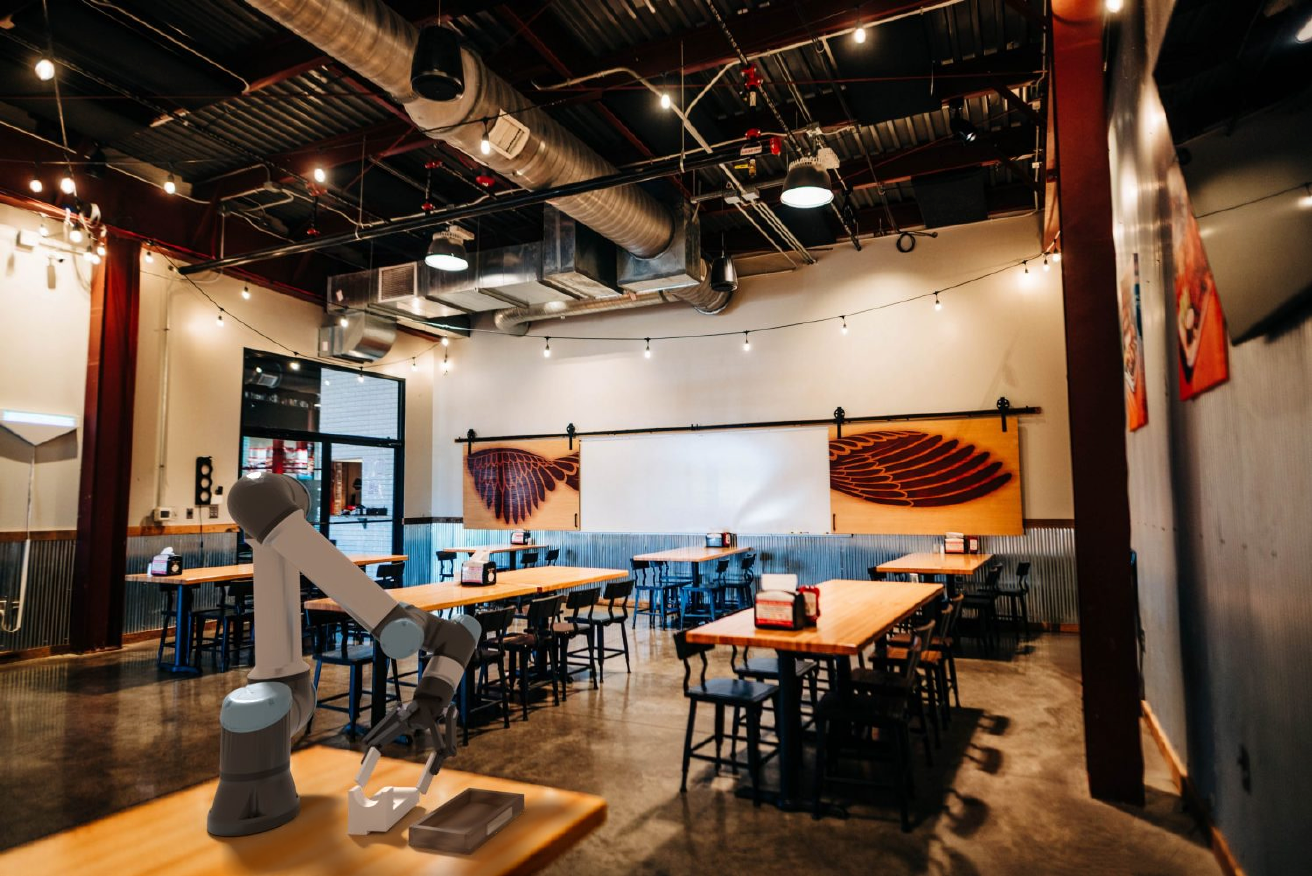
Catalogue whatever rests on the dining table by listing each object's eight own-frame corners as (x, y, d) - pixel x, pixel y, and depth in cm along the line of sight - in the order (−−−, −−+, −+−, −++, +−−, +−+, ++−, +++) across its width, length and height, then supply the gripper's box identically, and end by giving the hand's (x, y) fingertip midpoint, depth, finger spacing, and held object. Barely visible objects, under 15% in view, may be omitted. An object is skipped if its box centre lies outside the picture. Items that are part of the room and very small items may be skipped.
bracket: (385, 837, 129) (386, 792, 130) (347, 835, 130) (348, 791, 131) (419, 807, 142) (419, 766, 142) (384, 805, 143) (384, 765, 143)
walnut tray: (408, 845, 125) (408, 826, 125) (468, 804, 142) (468, 787, 142) (471, 854, 121) (471, 835, 121) (525, 811, 138) (525, 794, 138)
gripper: (498, 698, 150) (456, 803, 135) (396, 691, 158) (344, 790, 143) (484, 677, 146) (438, 784, 130) (379, 671, 154) (324, 771, 138)
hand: (389, 787), depth 136 cm, fingers open, 13 cm apart
